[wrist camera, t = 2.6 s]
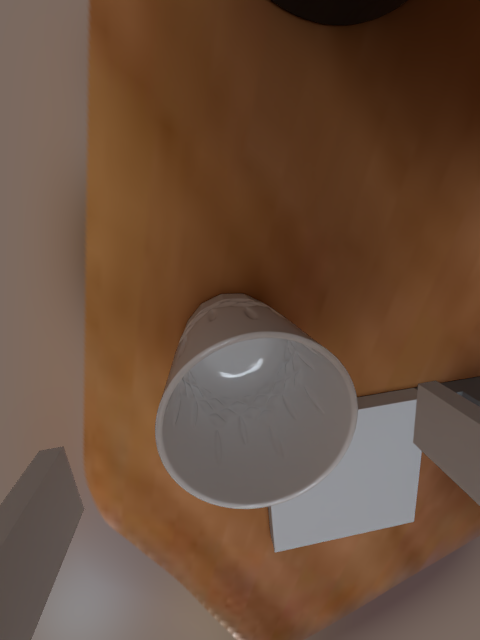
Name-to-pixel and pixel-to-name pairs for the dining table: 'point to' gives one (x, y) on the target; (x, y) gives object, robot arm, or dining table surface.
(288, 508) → the frame
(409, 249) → the dining table surface
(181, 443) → the white cup
